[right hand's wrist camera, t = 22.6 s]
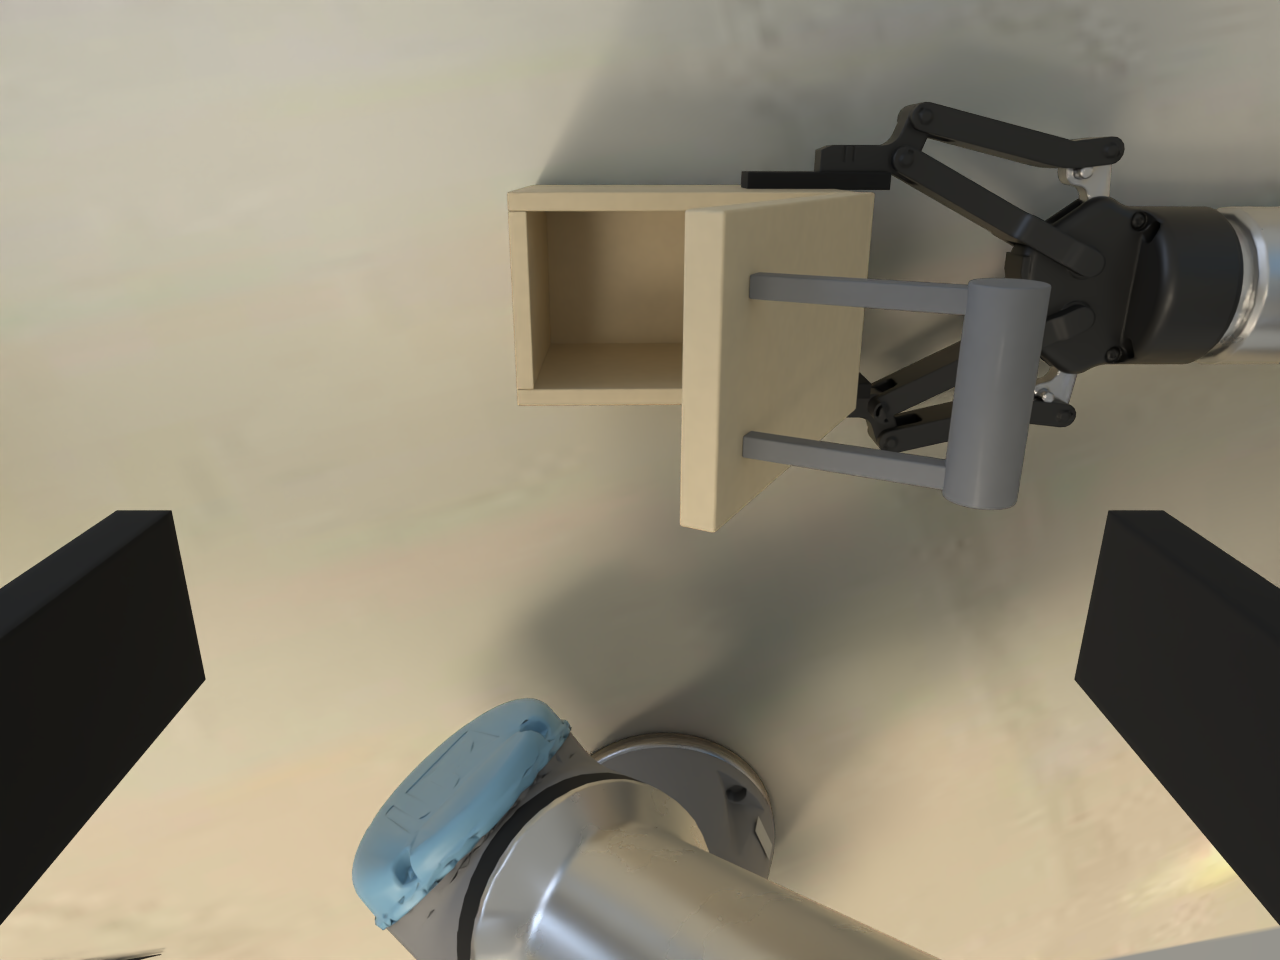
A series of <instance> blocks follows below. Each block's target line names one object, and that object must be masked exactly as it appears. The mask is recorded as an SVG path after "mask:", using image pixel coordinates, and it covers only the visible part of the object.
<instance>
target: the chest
mask: <svg viewBox="0 0 1280 960" xmlns="http://www.w3.org/2000/svg"><path fill="white" fill-rule="evenodd" d="M845 192H853V191H846V190H838V189H746V188H742V187H741V185H531V186H528V187H524V188H521V189H517V190H514V191H510V192H508V193H507V202H508V211H509V212H508V223H509V243H510V263H511V283H512V303H513V323H514V343H515V363H516V383H517V402H518V405H519V406H544V405H682V369H683V312H684V254H685V212H686V210H688V209H696V208H705V207H714V206H723V205H733V204H742V203H751V202H761V201H770V200H779V199H789V198H798V197H807V196H817V195H826V194H835V193H845Z"/></svg>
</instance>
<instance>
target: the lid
mask: <svg viewBox="0 0 1280 960" xmlns="http://www.w3.org/2000/svg"><path fill="white" fill-rule="evenodd" d="M874 197H875V195H874V193H872V192H845V193H835V194H826V195H817V196H807V197H798V198H789V199H779V200H770V201H761V202H751V203H742V204H733V205H723V206H714V207H705V208H696V209H688V210H686V212H685V254H684V312H683V369H682V426H681V484H680V525H681V526H683V527H688V528H693V529H698V530H703V531H708V532H712V533H713V532H716V531H717V530H718V529H719V528H721V527H722V526H723V525H724V524H725V523H726V522H727V521H729V520H730V519H731V518H732V517H733V516H734V515H735V514H736V513H738V512H739V511H740V510H741V509H742V508H743V507H744V506H746V505H747V504H748V503H749V502H750V501H751V500H752V499H754V498H755V497H756V496H757V495H758V494H759V493H760V492H762V491H763V490H764V489H765V488H766V487H767V486H768V485H770V484H771V483H772V482H773V481H774V480H775V479H776V478H778V477H779V476H780V475H781V474H782V473H783V472H784V471H786V470H787V469H788V468H789V467H790V466H791V465H793V466H799V467H805V468H811V469H817V470H823V471H829V472H836V473H842V474H848V475H854V476H860V477H866V478H872V479H878V480H885V481H891V482H897V483H903V484H909V485H915V486H921V487H928V488H934V489H940V490H942V495H943V496H944V497H945V498H946V499H947V500H949V501H951V502H953V503H955V504H958V505H961V506H964V507H968V508H974V509H981V510H1001V509H1007V508H1010V507H1012V506H1014V505H1015V504H1016V502H1017V497H1018V491H1019V485H1020V478H1021V472H1022V466H1023V460H1024V454H1025V447H1026V441H1027V435H1028V429H1029V423H1030V416H1031V410H1032V404H1033V398H1034V392H1035V385H1036V379H1037V373H1038V367H1039V360H1040V354H1041V348H1042V342H1043V336H1044V329H1045V323H1046V317H1047V311H1048V305H1049V298H1050V292H1051V285H1050V284H1048V283H1045V282H1041V281H1034V280H1025V279H1011V278H982V279H974V280H971V281H969V283H968V285H963V284H946V283H930V282H914V281H897V280H881V279H867V276H868V264H869V253H870V242H871V230H872V219H873V208H874ZM865 308H874V309H888V310H901V311H914V312H927V313H940V314H954V315H964V321H963V329H962V337H961V344H960V352H959V360H958V368H957V376H956V383H955V391H954V399H953V407H952V415H951V422H950V430H949V438H948V446H947V453H946V460H945V459H939V458H932V457H925V456H918V455H912V454H905V453H898V452H891V451H885V450H878V449H871V448H864V447H857V446H851V445H844V444H837V443H830V442H824V441H820V440H821V439H822V438H823V437H824V436H825V435H827V434H828V433H829V432H830V431H831V430H832V429H833V428H835V427H836V426H837V425H838V424H839V423H840V422H841V421H843V420H844V419H845V418H846V417H847V416H848V415H849V414H850V413H852V412H853V411H854V410H855V409H856V399H857V388H858V377H859V366H860V354H861V343H862V332H863V321H864V309H865Z"/></svg>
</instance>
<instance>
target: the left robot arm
mask: <svg viewBox="0 0 1280 960" xmlns="http://www.w3.org/2000/svg"><path fill="white" fill-rule="evenodd" d="M897 122H898V123H897V125H896V128H895V130H894V132H893V134H892V136H891V138H890V139H889V140H888V141H887V142H885V143H884V144H882V145H828V146H824V147H822V148H820V149H817V150H816V151H815V166H814V171H742V174H741V187H742V188H746V189H838V190H890V182H891V175H893V176H894V177H896V178H898V179H900V180H901V181H903V182H905V183H906V184H908V185H910V186H912V187H913V188H915V189H917V190H919V191H920V192H922V193H924V194H926V195H927V196H929V197H931V198H933V199H934V200H936V201H938V202H940V203H941V204H943V205H945V206H947V207H948V208H950V209H952V210H953V211H955V212H957V213H959V214H960V215H962V216H964V217H966V218H967V219H969V220H971V221H973V222H974V223H976V224H978V225H980V226H981V227H983V228H985V229H987V230H988V231H990V232H991V233H992V234H993V235H995V236H996V237H998V238H1000V239H1002V240H1003V241H1005V242H1007V243H1009V244H1010V245H1012V246H1014V247H1013V249H1012V251H1011V252H1007V253H1006V260H1005V277H1006V278H1011V279H1025V280H1034V281H1041V282H1045V283H1048V284H1050V285H1051V292H1050V298H1049V305H1048V311H1047V317H1046V323H1045V329H1044V336H1043V342H1042V348H1041V354H1040V358H1041V359H1042V360H1043V361H1045V362H1046V363H1047V364H1048V365H1050V366H1051V367H1050V370H1049V372H1048V373H1047V374H1046V375H1045V376H1044V377H1041V378H1037V379H1036V385H1035V392H1034V398H1033V404H1032V410H1031V416H1030V423H1029V424H1036V425H1045V426H1054V427H1066V426H1068V425H1070V424H1071V423H1072V422H1073V421H1074V419H1075V417H1076V411H1075V409H1074V408H1073V407H1072V406H1071V405H1069V400H1070V397H1071V394H1072V390H1073V387H1074V383H1075V380H1076V377H1077V374H1079V373H1082V372H1085V371H1087V370H1089V369H1090V368H1093V367H1095V366H1098V365H1103V364H1187V363H1191V362H1194V361H1195V362H1197V363H1200V364H1280V207H1221V208H1218V209H1216V210H1215V209H1213V208H1210V207H1153V206H1125V205H1123V204H1121V203H1119V202H1118V201H1116V200H1115V199H1113V198H1111V197H1109V196H1110V181H1111V167H1112V164H1114V163H1116V162H1117V161H1119V160H1120V159H1121V157H1122V156H1123V153H1124V143H1123V142H1122V140H1121V139H1120V138H1118V137H1093V138H1080V139H1072V140H1068V139H1065V138H1061V137H1057V136H1054V135H1050V134H1046V133H1042V132H1039V131H1035V130H1031V129H1028V128H1024V127H1020V126H1016V125H1013V124H1009V123H1005V122H1002V121H998V120H994V119H990V118H987V117H983V116H979V115H976V114H972V113H968V112H964V111H961V110H957V109H953V108H950V107H946V106H942V105H938V104H935V103H931V102H923V103H918V104H913V105H909V106H906V107H904V108H903V109H902V110H901V111H900V113H899V115H898V119H897ZM927 138H929V139H933V140H937V141H941V142H944V143H948V144H952V145H956V146H960V147H963V148H967V149H971V150H975V151H978V152H982V153H986V154H990V155H993V156H997V157H1001V158H1005V159H1008V160H1012V161H1016V162H1020V163H1024V164H1027V165H1031V166H1036V167H1042V168H1058V178H1059V180H1060V181H1061V182H1062V183H1063V184H1065V185H1071V186H1073V187H1075V188H1076V189H1077V190H1078V193H1079V199H1077V200H1075V201H1074V202H1072V203H1071V204H1069V205H1068V206H1067V207H1065V208H1064V209H1062V210H1061V211H1059V212H1058V213H1056V214H1055V215H1053V216H1052V217H1050V218H1049V219H1047V220H1046V221H1043V220H1042V219H1040V218H1038V217H1036V216H1034V215H1032V214H1029V213H1027V212H1025V211H1023V210H1021V209H1019V208H1018V207H1016V206H1014V205H1013V204H1011V203H1009V202H1007V201H1006V200H1004V199H1002V198H1001V197H999V196H997V195H995V194H994V193H992V192H990V191H989V190H987V189H985V188H983V187H982V186H980V185H978V184H977V183H975V182H973V181H971V180H970V179H968V178H966V177H965V176H963V175H961V174H959V173H958V172H956V171H954V170H953V169H951V168H949V167H947V166H946V165H944V164H942V163H941V162H939V161H937V160H935V159H934V158H932V157H930V156H929V155H927V154H925V153H923V152H922V148H923V146H924V144H925V142H926V139H927ZM960 344H961V341H959V342H957V343H955V344H953V345H951V346H949V347H947V348H945V349H943V350H941V351H938V352H936V353H934V354H932V355H930V356H928V357H926V358H924V359H922V360H920V361H918V362H915V363H913V364H911V365H909V366H907V367H905V368H903V369H901V370H899V371H897V372H895V373H892V374H890V375H888V376H886V377H884V378H882V379H880V380H878V381H876V382H874V383H872V384H871V383H870V382H869V381H868V380H867V379H866V378H865V377H864V376H863V375H862V374H861V373H860V372H859V377H858V388H857V399H856V409H855V410H854V411H853V412H852V413H850V414H849V415H848V416H847V417H860V418H864V419H866V422H867V426H868V434H869V436H870V437H871V438H872V439H873V441H874V442H875V443H876V444H877V445H878V447H879V448H880V449H881V450H885V451H891V452H902V451H907V450H911V449H916V448H920V447H925V446H929V445H934V444H938V443H943V442H947V441H948V438H949V430H950V422H951V415H952V407H953V401H952V402H948V403H943V404H939V405H934V406H930V407H926V408H921V409H917V410H912V411H908V412H903V413H900V412H902V411H904V410H906V409H908V408H910V407H913V406H915V405H917V404H919V403H921V402H923V401H925V400H927V399H930V398H932V397H934V396H936V395H938V394H940V393H942V392H944V391H947V390H949V389H951V388H953V387H955V383H956V376H957V368H958V360H959V352H960ZM898 413H899V414H898ZM571 728H572V727H570V725H569V723H568V721H566V720H561V719H560V718H559V717H558V716H557V715H556V714H555V713H554V712H553V711H552V709H551V708H550V707H549V706H548V705H547V704H545V703H544V702H542V701H539V700H537V699H530V698H526V699H517V700H513V701H510V702H507V703H504V704H501V705H499V706H497V707H495V708H493V709H491V710H489V711H487V712H486V713H484V714H482V715H480V716H479V717H477V718H476V719H474V720H473V721H472V722H470V723H468V724H467V725H465V726H464V727H462V728H461V729H460V730H458V731H457V732H456V733H454V734H453V735H452V736H451V737H449V738H448V739H447V740H446V741H445V742H443V743H442V744H441V745H440V746H439V747H438V748H436V749H435V750H434V751H433V752H432V753H431V754H430V755H429V756H427V757H426V758H425V759H424V760H423V761H422V762H421V763H420V764H419V765H418V766H417V767H416V768H415V769H414V770H413V771H412V772H411V773H410V774H409V775H408V777H407V778H406V779H405V780H404V781H403V782H402V783H401V784H400V785H399V787H398V788H397V789H396V790H395V791H394V792H393V794H392V795H391V796H390V797H389V799H388V800H387V801H386V802H385V804H384V805H383V806H382V807H381V809H380V810H379V812H378V813H377V815H376V816H375V818H374V819H373V821H372V823H371V825H370V826H369V827H368V829H367V830H366V832H365V834H364V836H363V838H362V840H361V842H360V844H359V847H358V849H357V852H356V855H355V858H354V862H353V869H352V880H353V885H354V888H355V890H356V893H357V894H358V896H359V897H360V899H361V900H362V901H363V902H364V903H365V905H366V906H367V907H368V908H369V909H370V911H371V912H372V913H373V914H374V915H375V924H376V925H377V926H378V927H379V928H381V929H382V930H385V929H386V928H387V929H388V930H389V931H390V933H391V934H392V935H393V936H394V937H395V938H396V939H397V940H398V941H399V942H400V943H401V944H402V945H403V946H404V947H405V948H406V949H407V950H408V951H409V952H410V953H411V954H412V955H413V956H414V957H415V958H416V960H941V959H939V958H937V957H935V956H932V955H930V954H928V953H926V952H924V951H921V950H919V949H917V948H915V947H913V946H911V945H908V944H906V943H904V942H902V941H900V940H898V939H895V938H893V937H891V936H889V935H887V934H885V933H882V932H880V931H878V930H876V929H874V928H872V927H869V926H867V925H865V924H863V923H861V922H859V921H856V920H854V919H852V918H850V917H848V916H845V915H843V914H841V913H839V912H837V911H835V910H832V909H830V908H828V907H826V906H824V905H822V904H819V903H817V902H815V901H813V900H811V899H809V898H806V897H804V896H802V895H800V894H798V893H796V892H793V891H791V890H789V889H787V888H785V887H783V886H780V885H778V884H776V883H774V882H772V881H769V880H768V875H769V871H770V867H771V863H772V858H773V853H774V843H775V826H774V819H773V814H772V809H771V804H770V800H769V797H768V794H767V792H766V789H765V787H764V785H763V783H762V781H761V780H760V779H759V777H758V776H757V774H756V773H755V772H754V771H753V769H752V768H751V767H750V766H749V765H748V764H747V763H746V762H745V761H744V760H743V759H741V758H740V757H739V756H737V755H736V754H735V753H733V752H731V751H730V750H728V749H727V748H725V747H723V746H721V745H719V744H717V743H714V742H712V741H709V740H706V739H703V738H700V737H696V736H691V735H686V734H678V733H652V734H644V735H639V736H634V737H630V738H627V739H623V740H620V741H618V742H615V743H613V744H611V745H609V746H607V747H605V748H603V749H601V750H599V751H598V752H596V753H595V754H593V755H592V756H590V755H589V754H588V753H587V752H586V751H585V750H584V749H583V747H582V746H581V745H580V744H579V742H578V741H577V740H576V738H575V737H574V736H573V735H572V733H571V732H570V731H571Z"/></svg>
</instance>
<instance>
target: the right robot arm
mask: <svg viewBox="0 0 1280 960" xmlns="http://www.w3.org/2000/svg"><path fill="white" fill-rule="evenodd" d="M205 680H206V679H205V674H204V669H203V664H202V659H201V654H200V649H199V644H198V639H197V634H196V630H195V625H194V620H193V615H192V610H191V605H190V600H189V595H188V590H187V585H186V580H185V575H184V570H183V565H182V560H181V555H180V550H179V545H178V540H177V535H176V530H175V525H174V520H173V515H172V510H117V511H115V512H114V513H112V514H111V515H109V516H108V517H106V518H105V519H103V520H102V521H100V522H99V523H97V524H96V525H94V526H93V527H91V528H90V529H88V530H87V531H86V532H84V533H83V534H81V535H80V536H78V537H77V538H75V539H74V540H72V541H71V542H69V543H68V544H66V545H65V546H63V547H62V548H60V549H59V550H57V551H56V552H54V553H53V554H51V555H50V556H48V557H47V558H45V559H44V560H42V561H41V562H39V563H38V564H36V565H35V566H33V567H32V568H30V569H29V570H27V571H26V572H24V573H23V574H21V575H20V576H18V577H17V578H15V579H14V580H13V581H11V582H10V583H8V584H7V585H5V586H4V587H2V588H1V589H0V925H1V924H2V923H3V921H4V920H5V919H6V918H7V917H8V915H9V914H10V913H11V912H12V911H13V909H14V908H15V907H16V906H17V905H18V904H19V902H20V901H21V900H22V899H23V898H24V896H25V895H26V894H27V893H28V892H29V890H30V889H31V888H32V887H33V886H34V884H35V883H36V882H37V881H38V880H39V878H40V877H41V876H42V875H43V874H44V872H45V871H46V870H47V869H48V868H49V866H50V865H51V864H52V863H53V862H54V860H55V859H56V858H57V857H58V856H59V854H60V853H61V852H62V851H63V850H64V848H65V847H66V846H67V845H68V844H69V842H70V841H71V840H72V839H73V838H74V836H75V835H76V834H77V833H78V832H79V830H80V829H81V828H82V827H83V826H84V824H85V823H86V822H87V821H88V820H89V818H90V817H91V816H92V815H93V814H94V812H95V811H96V810H97V809H98V808H99V807H100V805H101V804H102V803H103V802H104V801H105V799H106V798H107V797H108V796H109V795H110V793H111V792H112V791H113V790H114V789H115V787H116V786H117V785H118V784H119V783H120V781H121V780H122V779H123V778H124V777H125V775H126V774H127V773H128V772H129V771H130V769H131V768H132V767H133V766H134V765H135V763H136V762H137V761H138V760H139V759H140V757H141V756H142V755H143V754H144V753H145V751H146V750H147V749H148V748H149V747H150V745H151V744H152V743H153V742H154V741H155V739H156V738H157V737H158V736H159V735H160V733H161V732H162V731H163V730H164V729H165V727H166V726H167V725H168V724H169V723H170V721H171V720H172V719H173V718H174V717H175V715H176V714H177V713H178V712H179V711H180V710H181V708H182V707H183V706H184V705H185V704H186V702H187V701H188V700H189V699H190V698H191V696H192V695H193V694H194V693H195V692H196V690H197V689H198V688H199V687H200V686H201V684H202V683H203V682H204V681H205ZM1074 680H1075V681H1076V682H1077V683H1078V684H1079V686H1080V687H1081V688H1082V689H1083V690H1084V692H1085V693H1086V694H1087V695H1088V696H1089V698H1090V699H1091V700H1092V701H1093V702H1094V704H1095V705H1096V706H1097V707H1098V708H1099V710H1100V711H1101V712H1102V713H1103V714H1104V715H1105V717H1106V718H1107V719H1108V720H1109V721H1110V723H1111V724H1112V725H1113V726H1114V727H1115V729H1116V730H1117V731H1118V732H1119V733H1120V735H1121V736H1122V737H1123V738H1124V739H1125V741H1126V742H1127V743H1128V744H1129V745H1130V747H1131V748H1132V749H1133V750H1134V751H1135V753H1136V754H1137V755H1138V756H1139V757H1140V759H1141V760H1142V761H1143V762H1144V763H1145V765H1146V766H1147V767H1148V768H1149V769H1150V771H1151V772H1152V773H1153V774H1154V775H1155V777H1156V778H1157V779H1158V780H1159V781H1160V783H1161V784H1162V785H1163V786H1164V787H1165V789H1166V790H1167V791H1168V792H1169V793H1170V795H1171V796H1172V797H1173V798H1174V799H1175V801H1176V802H1177V803H1178V804H1179V805H1180V807H1181V808H1182V809H1183V810H1184V811H1185V812H1186V814H1187V815H1188V816H1189V817H1190V818H1191V820H1192V821H1193V822H1194V823H1195V824H1196V826H1197V827H1198V828H1199V829H1200V830H1201V832H1202V833H1203V834H1204V835H1205V836H1206V838H1207V839H1208V840H1209V841H1210V842H1211V844H1212V845H1213V846H1214V847H1215V848H1216V850H1217V851H1218V852H1219V853H1220V854H1221V856H1222V857H1223V858H1224V859H1225V860H1226V862H1227V863H1228V864H1229V865H1230V866H1231V868H1232V869H1233V870H1234V871H1235V872H1236V874H1237V875H1238V876H1239V877H1240V878H1241V880H1242V881H1243V882H1244V883H1245V884H1246V886H1247V887H1248V888H1249V889H1250V890H1251V892H1252V893H1253V894H1254V895H1255V896H1256V898H1257V899H1258V900H1259V901H1260V902H1261V904H1262V905H1263V906H1264V907H1265V908H1266V909H1267V911H1268V912H1269V913H1270V914H1271V915H1272V917H1273V918H1274V919H1275V920H1276V921H1277V923H1278V924H1279V925H1280V589H1279V588H1278V587H1276V586H1275V585H1273V584H1272V583H1270V582H1269V581H1267V580H1266V579H1265V578H1263V577H1262V576H1260V575H1259V574H1257V573H1256V572H1254V571H1253V570H1251V569H1250V568H1248V567H1247V566H1245V565H1244V564H1242V563H1241V562H1239V561H1238V560H1236V559H1235V558H1233V557H1232V556H1230V555H1229V554H1227V553H1226V552H1224V551H1223V550H1221V549H1220V548H1218V547H1217V546H1215V545H1214V544H1212V543H1211V542H1209V541H1208V540H1206V539H1205V538H1203V537H1202V536H1200V535H1199V534H1197V533H1196V532H1194V531H1193V530H1192V529H1190V528H1189V527H1187V526H1186V525H1184V524H1183V523H1181V522H1180V521H1178V520H1177V519H1175V518H1174V517H1172V516H1171V515H1169V514H1168V513H1166V512H1165V511H1163V510H1108V515H1107V520H1106V525H1105V530H1104V535H1103V540H1102V545H1101V550H1100V555H1099V560H1098V565H1097V570H1096V575H1095V580H1094V585H1093V590H1092V595H1091V600H1090V605H1089V610H1088V615H1087V620H1086V625H1085V629H1084V634H1083V639H1082V644H1081V649H1080V654H1079V659H1078V664H1077V669H1076V674H1075V679H1074Z"/></svg>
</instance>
